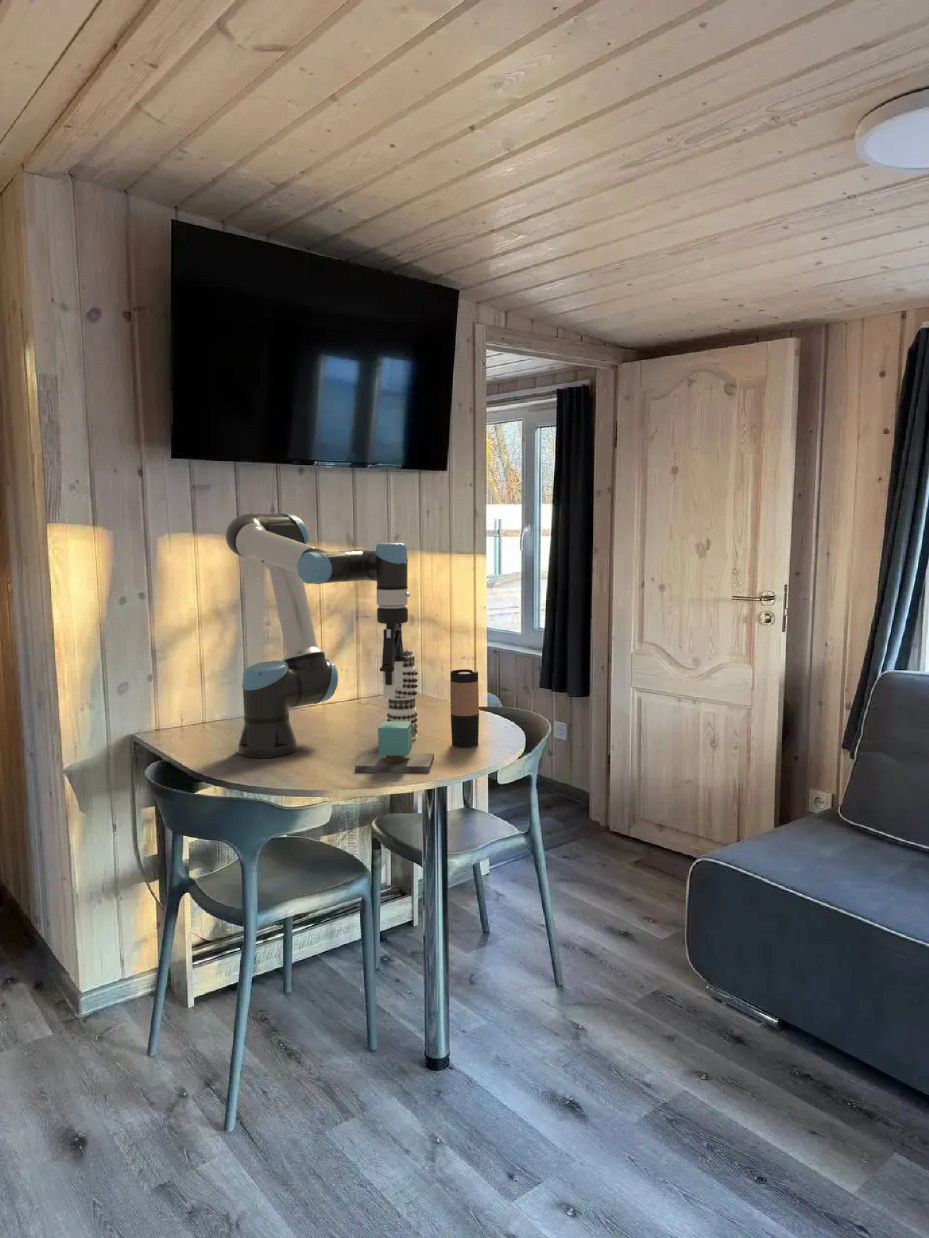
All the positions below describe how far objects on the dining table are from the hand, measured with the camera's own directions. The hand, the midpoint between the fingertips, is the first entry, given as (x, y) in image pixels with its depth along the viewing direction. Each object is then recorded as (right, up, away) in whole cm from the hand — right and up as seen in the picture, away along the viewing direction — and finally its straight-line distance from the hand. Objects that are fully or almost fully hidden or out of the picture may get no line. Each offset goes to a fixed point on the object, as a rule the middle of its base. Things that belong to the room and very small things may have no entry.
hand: (393, 692), depth 212 cm
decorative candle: (0, -15, +30) cm, 33 cm away
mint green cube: (0, -15, +1) cm, 15 cm away
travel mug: (+18, -16, +22) cm, 32 cm away
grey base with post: (0, -18, +2) cm, 18 cm away
